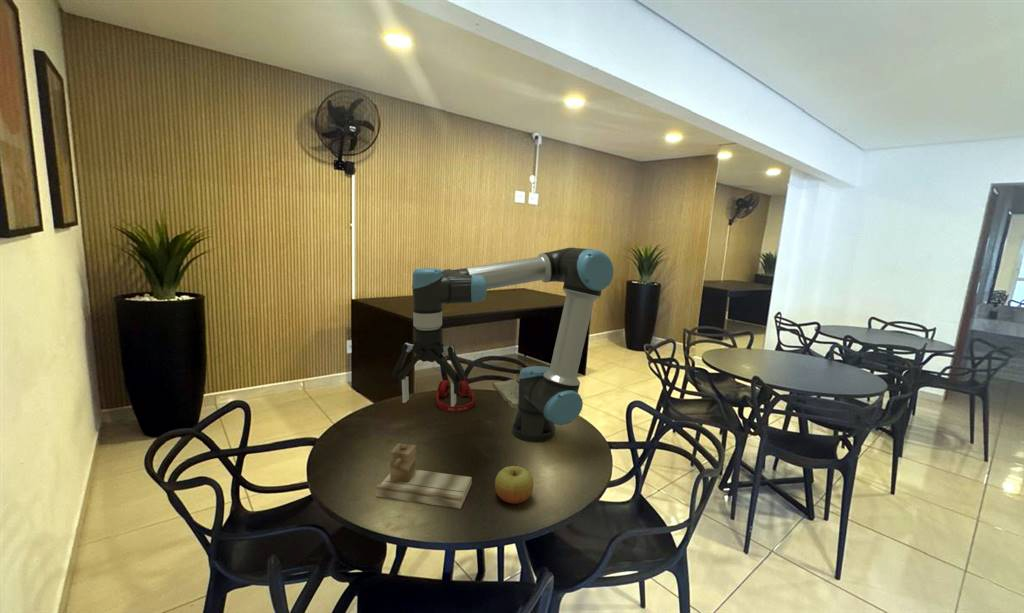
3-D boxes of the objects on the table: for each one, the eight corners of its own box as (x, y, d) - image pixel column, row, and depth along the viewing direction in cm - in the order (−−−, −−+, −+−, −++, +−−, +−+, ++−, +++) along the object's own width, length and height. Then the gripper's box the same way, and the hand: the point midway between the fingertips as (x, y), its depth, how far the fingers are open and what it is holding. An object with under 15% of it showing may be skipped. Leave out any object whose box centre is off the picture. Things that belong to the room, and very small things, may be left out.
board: (471, 483, 118) (471, 474, 117) (460, 508, 107) (460, 498, 107) (394, 473, 121) (394, 464, 121) (376, 496, 110) (376, 486, 110)
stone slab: (516, 406, 165) (491, 378, 192) (516, 417, 166) (490, 387, 193) (545, 403, 170) (516, 375, 197) (545, 412, 170) (516, 384, 198)
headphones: (434, 392, 182) (437, 419, 163) (434, 377, 179) (438, 402, 161) (469, 391, 185) (476, 416, 167) (470, 376, 183) (477, 400, 165)
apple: (502, 513, 106) (504, 483, 105) (488, 491, 115) (490, 463, 114) (538, 504, 110) (540, 475, 109) (522, 484, 119) (523, 457, 118)
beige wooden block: (415, 472, 118) (415, 441, 117) (404, 488, 111) (404, 455, 109) (398, 470, 119) (398, 439, 118) (386, 485, 112) (386, 453, 110)
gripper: (477, 326, 116) (477, 400, 120) (389, 321, 120) (391, 394, 124) (470, 332, 109) (470, 411, 113) (377, 327, 113) (380, 404, 116)
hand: (429, 402), depth 118 cm, fingers open, 13 cm apart
